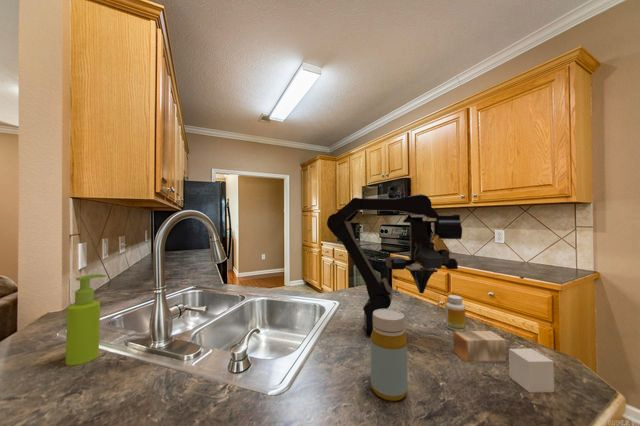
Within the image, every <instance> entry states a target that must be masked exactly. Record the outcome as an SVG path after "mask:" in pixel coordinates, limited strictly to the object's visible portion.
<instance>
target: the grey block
mask: <svg viewBox="0 0 640 426" xmlns="http://www.w3.org/2000/svg"><path fill="white" fill-rule="evenodd" d="M508 359H509V360H508V361H509V362H508V368H509V370H508V371H509V378H510V379H512V380H513V381H514V382H515V383H517V384H518V385H519V386H520V387H522V388H523V389H525V390H526V391H527V392H529V393H555V369H554V361H553V360H552V359H551V358H549V357H547V356H545V355H543V354H542V353H540V352H538V351H536V350H534V349H533V348H508Z"/></svg>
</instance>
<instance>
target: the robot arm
mask: <svg viewBox="0 0 640 426" xmlns="http://www.w3.org/2000/svg"><path fill="white" fill-rule="evenodd" d="M361 211H377V212H378V211H380V212H381V211H382V212H383V211H384V212H385V211H387V212H401V213H406V214H407V216H406V218H405V219H403V222H402V223H404V224H405V223H407V224H409V239H410V240H408V245H409V246H410V247H409V251H410V252H409V254H408V259H405V258H403V257H402V256H387V257H386V259H385V266H386V267H387V268H389V269H391V270H395V271H396V270H401V271H402V270H404V269H405V270H407V271H408V272H410V274H411V277H412V278H413V281H414V283H415V286H416V289H417V290H418V292H419V294H424V293H425V290H426V287H427V285H428V282H429V281H430V278H431V276H432V275H433V274H434V273H438V270H441V269H442V267H444V268H446V269H447V270H458V268H459V266H458V265H459V264H458V261H457V259H456V258H455V257H450V251H449V250H447V249H439V250H437V249H436V248H435V243H434V242H432V231H433V236H437V238H438V239H439V240H462V237H463V226H462V222H461V216H460V214H452V215H439V214H438V212H437V211H436V210H435V209H434V208H433V207H432V201H431V199H430V198H429V197H428V196H427V195H425V194H421V193H420V194H413V195H409V196H408V195H407V196H404V197H398V198H389V197H388V198H382V197H381V198H373V197H371V198H367V197H366V198H363V197H361V198H360V197H353V198H352V199H351V200H350V201H349V202H347V204H345V205H344V206H343V207H342V208H340V209H339V210H338V211H337V212H336V213H332V214H330V215H329V217H328V218H327V221H326V226H327V228H328V229H329V231H330V232H331V233H332V234H333V235H334V236H335V237H336V238H337V239H338V240H339V241H340V242H341V243H342V245H343V246H344V248H345V250H346V252H347V253H348V255H349V256H350V257H349V258H351V260H352V262H353V264H354V266H355V268H357V271H358V272H359V274H360V276H361V278H362V280H363V281H364V285H365V287H366V292H367V295H368V299H367V301H366V303H364V305H363V313H364V314H363V317H364V318H363V322H364V323H363V324H364V325H363V326H362V328H363V331H364V333H365V335H366V337H371V333H372V331H373V312H374V311H375V310H377V309H390V307H391V303H392V300H393V298H394V297H393V287H392V286H390V284H389V283H388V282H389V281H388V279H387V278H386V277H383V278H380V276H379V275H377V273H376V271H375V269H374V268H373V266H372V264H371V262H370V261H369V259H368V257H367V256H366V254H365V253H364V251H363V249H362V247H361V246H360V244H359V242H358V240H357V239H356V237H355V235H354V231H353V227H352V224H351V221H352V220H354V219H355V217H356V216H357V215H358V214H359V213H360V212H361ZM411 215H416V216H411ZM422 215H423V216H424V217H427V218H428V219H435V220H423V217H422ZM432 224H433V230H432ZM438 239H437V240H438Z"/></svg>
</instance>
